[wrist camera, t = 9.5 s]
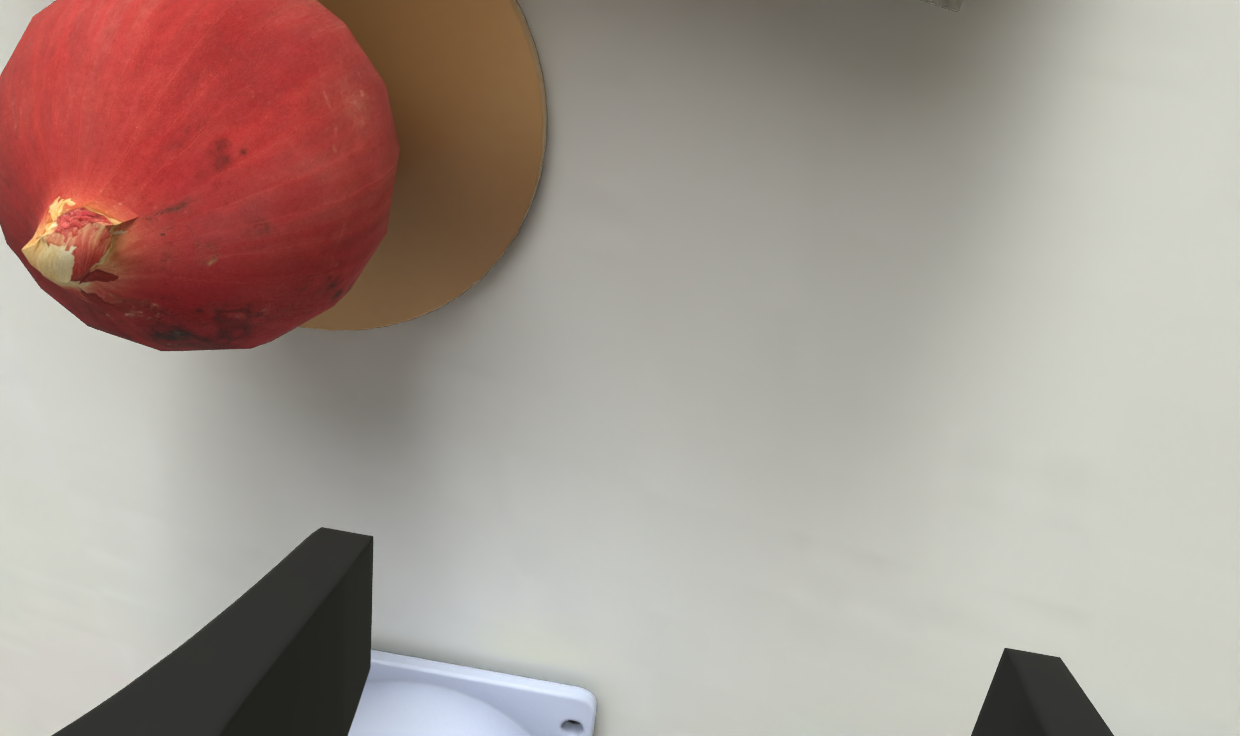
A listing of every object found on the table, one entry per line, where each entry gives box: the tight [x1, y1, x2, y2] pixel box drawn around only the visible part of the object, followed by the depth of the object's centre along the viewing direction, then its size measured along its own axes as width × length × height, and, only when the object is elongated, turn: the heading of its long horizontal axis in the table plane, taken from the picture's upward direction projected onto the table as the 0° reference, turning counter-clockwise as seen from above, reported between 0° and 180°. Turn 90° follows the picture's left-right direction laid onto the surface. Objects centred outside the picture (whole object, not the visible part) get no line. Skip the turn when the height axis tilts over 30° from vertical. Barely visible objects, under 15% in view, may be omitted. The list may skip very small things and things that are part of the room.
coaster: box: [299, 0, 547, 330], centre depth 22 cm, size 9×9×1 cm
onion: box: [0, 0, 400, 351], centre depth 18 cm, size 6×6×8 cm
